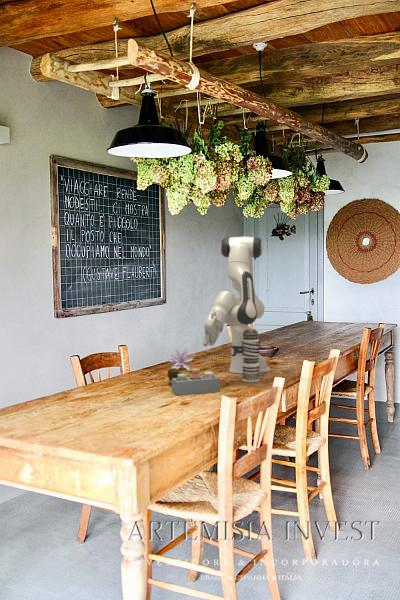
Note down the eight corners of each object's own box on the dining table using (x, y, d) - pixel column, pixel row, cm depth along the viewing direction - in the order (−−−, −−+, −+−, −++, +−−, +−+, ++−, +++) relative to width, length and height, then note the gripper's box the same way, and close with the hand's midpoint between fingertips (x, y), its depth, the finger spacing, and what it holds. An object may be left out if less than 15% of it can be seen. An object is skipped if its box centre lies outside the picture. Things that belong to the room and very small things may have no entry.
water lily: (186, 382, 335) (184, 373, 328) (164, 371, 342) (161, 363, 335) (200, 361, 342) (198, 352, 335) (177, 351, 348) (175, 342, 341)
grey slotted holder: (212, 387, 288) (212, 374, 287) (219, 391, 279) (219, 378, 279) (171, 391, 281) (171, 378, 280) (178, 395, 272) (178, 382, 272)
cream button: (211, 386, 285) (211, 371, 284) (214, 387, 281) (214, 372, 281) (203, 386, 283) (203, 371, 283) (206, 388, 280) (206, 373, 279)
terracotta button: (198, 383, 282) (198, 368, 282) (201, 384, 279) (201, 369, 278) (190, 383, 281) (189, 368, 280) (193, 385, 277) (192, 370, 277)
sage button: (184, 388, 280) (184, 373, 280) (187, 390, 276) (187, 374, 276) (176, 389, 279) (176, 374, 278) (179, 391, 275) (179, 375, 274)
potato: (191, 382, 302) (191, 365, 301) (176, 386, 291) (175, 370, 290) (177, 380, 306) (177, 364, 306) (162, 385, 295) (161, 368, 295)
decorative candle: (259, 382, 298) (259, 331, 297) (240, 381, 300) (240, 330, 298) (261, 378, 307) (261, 328, 306) (243, 378, 309) (242, 328, 307)
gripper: (221, 311, 282) (209, 337, 276) (222, 331, 300) (211, 356, 294) (208, 307, 284) (196, 332, 278) (210, 327, 301) (199, 351, 295)
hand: (204, 344), depth 286 cm, fingers closed
